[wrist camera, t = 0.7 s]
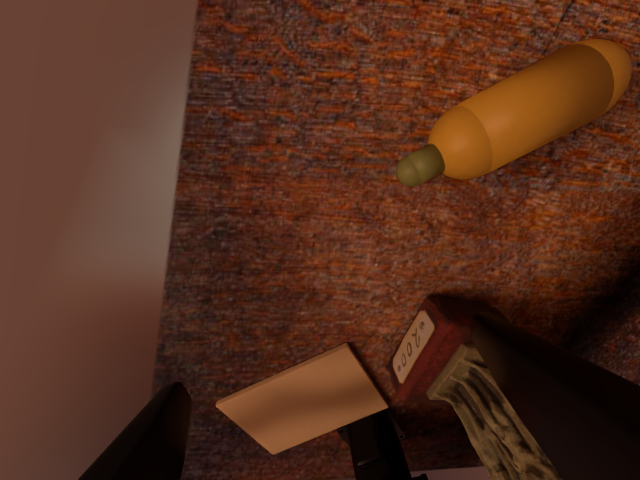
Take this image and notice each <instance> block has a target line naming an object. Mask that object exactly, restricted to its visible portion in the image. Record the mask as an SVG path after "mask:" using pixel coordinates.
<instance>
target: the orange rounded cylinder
mask: <svg viewBox="0 0 640 480" xmlns="http://www.w3.org/2000/svg"><path fill="white" fill-rule="evenodd" d="M631 74H632V62H631V59H630V56H629V55H628V53H627V51H626V50H625V49H624V48H623V47H621V46H620V45H618V44H617V43H615V42H612V41H609V40H604V39H587V40H582V41H578V42H575V43H572V44H570V45H567V46H565V47H563V48H561V49H559V50H557V51H555V52H554V53H552V54H550V55H548V56H546V57H544V58H543V59H541V60H539V61H537V62H535V63H533V64H531V65H530V66H528V67H526V68H524V69H522V70H520V71H518V72H517V73H515V74H513V75H511V76H509V77H507V78H506V79H504V80H502V81H500V82H498V83H496V84H494V85H493V86H491V87H489V88H487V89H485V90H483V91H481V92H480V93H478V94H476V95H474V96H472V97H470V98H469V99H467V100H465V101H463V102H461V103H459V104H457V105H456V106H454V107H452V108H451V109H449V110H448V111H446V112H445V113H444V114H443V115H442V116H441V117H440V118H439V119H438V120H437V122H436V123H435V125H434V126H433V128H432V130H431V133H430V135H429V140H428V145H426V146H424V147H422V148H420V149H418V150H417V151H415V152H413V153H411V154H409V155H407V156H405V157H404V158H402V159H401V160H400V162H399V163H398V165H397V168H396V175H397V178H398V180H399V181H400V182H401V183H402V184H404V185H406V186H417V185H420V184H421V183H423V182H425V181H427V180H429V179H431V178H433V177H435V176H437V175H439V174H441V173H442V174H444V175H446V176H448V177H450V178H454V179H459V180H466V179H473V178H477V177H480V176H483V175H485V174H487V173H489V172H491V171H493V170H495V169H497V168H499V167H501V166H503V165H505V164H507V163H509V162H511V161H513V160H515V159H517V158H519V157H521V156H523V155H525V154H527V153H529V152H531V151H533V150H535V149H537V148H539V147H541V146H543V145H545V144H547V143H549V142H551V141H553V140H555V139H557V138H559V137H561V136H563V135H565V134H567V133H569V132H571V131H573V130H575V129H577V128H579V127H581V126H583V125H585V124H587V123H589V122H591V121H593V120H595V119H597V118H598V117H600V116H602V115H603V114H604V113H606V112H607V111H608V110H610V109H611V108H612V107H613V106H614V105H615V104H616V103H617V102H618V101H619V99H620V98H621V97H622V95H623V94H624V93H625V91H626V89H627V87H628V85H629V82H630V79H631Z"/></svg>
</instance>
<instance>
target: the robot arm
mask: <svg viewBox="0 0 640 480" xmlns="http://www.w3.org/2000/svg"><path fill="white" fill-rule="evenodd" d="M470 334H471V338H472V341H473V343H474V345H475V346H476V348H477V350H478V352H479V353H480V355H481V357H482V359H483V361H484V362H485V364H486V366H487V368H488V369H489V371H490V373H491V375H492V376H493V378H494V380H495V382H496V383H497V385H498V387H499V389H500V390H501V392H502V393H503V395H504V396H505V398H506V399H507V401H508V402H509V404H510V405H511V406H512V408H513V409H514V411H515V412H516V414H517V415H518V416H519V418H520V419H521V421H522V422H523V424H524V425H525V426H526V428H527V429H528V431H529V432H530V434H531V435H532V436H533V438H534V439H535V441H536V442H537V444H538V445H539V446H540V448H541V449H542V451H543V452H544V454H545V455H546V456H547V458H548V459H549V461H550V462H551V464H552V465H553V466H554V468H555V469H556V471H557V472H558V474H559V475H560V477H561V478H562V479H563V480H640V386H639V385H637V384H635V383H633V382H631V381H629V380H627V379H625V378H623V377H621V376H618V375H616V374H614V373H612V372H610V371H608V370H606V369H604V368H602V367H600V366H598V365H596V364H594V363H592V362H590V361H588V360H586V359H584V358H582V357H580V356H578V355H575V354H573V353H571V352H569V351H567V350H565V349H563V348H561V347H559V346H557V345H555V344H553V343H551V342H549V341H547V340H545V339H543V338H541V337H539V336H537V335H535V334H532V333H530V332H528V331H526V330H524V329H522V328H520V327H518V326H516V325H514V324H512V323H510V322H508V321H506V320H504V319H502V318H500V317H498V316H496V315H494V314H491V313H489V312H486V311H483V312H479V313H474V314H473V315H472V316H471V331H470ZM191 411H192V399H191V396H190V395H189V393H188V392H187V390H186V389H185V387H184V386H183V384H182V383H181V382H173V383H169V384H166V385H165V386H163V387H162V388H161V389H160V391H159V392H158V393H157V394H156V395H155V396H154V397H153V398H152V399H151V400H150V401H149V403H148V404H147V405H146V406H145V407H144V408H143V409H142V410H141V412H139V414H138V415H137V416H136V417H135V418H134V419H133V420H132V421H131V422H130V423H129V424H128V425H127V427H126V428H125V429H124V430H123V431H122V432H121V433H120V434H119V435H118V436H117V437H116V439H115V440H114V441H113V442H112V443H111V444H110V445H109V446H108V447H107V448H106V449H105V451H104V452H103V453H102V454H101V455H100V456H99V457H98V458H97V459H96V460H95V461H94V462H93V464H92V465H91V466H90V467H89V468H88V469H87V470H86V471H85V472H84V473H83V474H82V476H81V477H80V478H79V479H78V480H180V478H181V474H182V469H183V464H184V459H185V453H186V446H187V439H188V432H189V425H190V418H191ZM337 432H338V434H339V435H340V436H341V437H342V438H343V439H344V441H345V442H346V443H347V444H348V445H349V446H350V450H351V456H352V461H353V467H354V473H355V479H356V480H428V478H427V476H426V474H421V476H418V477H414V478H412V477H411V474H410V471H409V468H408V465H407V462H406V459H405V456H404V453H403V450H402V446H401V443H400V440H401V439H403V438H405V434H404V431H403V430H402V428H401V427H400V425H399V424H398V423H397V421H396V420H395V418H394V417H393V415H392V414H391V412H390V411H389V409H388V408H386V409H383V410H381V411H379V412H376V413H374V414H371V415H369V416H366V417H364V418H361V419H359V420H357V421H354V422H352V423H349V424H347V425H344V426H342V427H340V428H337Z"/></svg>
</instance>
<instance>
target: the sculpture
mask: <svg viewBox="0 0 640 480" xmlns="http://www.w3.org/2000/svg"><path fill="white" fill-rule="evenodd" d="M483 311H486V312H489V313H491V314H494V315H496V316H498V317H500V318H502V319H504V320H506V321H508V322H509V320H508V319H507V318H506V317H505V316H504V314H502V313H501V312H500V311H499V310H497V309H496V308H495V307H490V306H485V305H480V304H477V303H474V302H471V301H462V300H456V299H451V298H446V297H440V298H438V297H426V298H425V300H424V302H423V304H422V305H421V307H420V309H419V311H418V313H417V314H416V316H415V318H414V320H413V322H412V323H411V325H410V326H409V328H408V329H407V331H406V333H405V335H404V337H403V339H402V341H401V342H400V344H399V345H398V347H397V348H396V350H395V352H394V354H393V355H392V357H391V359H390V361H389V363H388V364H387V365H386V368H387V370H388V372H389V373H390V376H391V381H392V384H393V386H394V388H395V391H396V393H397V395H398V397H399V398H400V399H401V400H403V401H405V402H423V403H438V404H445V405H453V407H454V410H455V411H456V413H457V414H458V416H459V418H460V419H461V421H462V423H463V425H464V427H465V429H466V432H467V434H468V437H469V439H470V442H471V444H472V445H473V447H474V448H475V450H476V452H477V453H478V455H479V457H480V459H481V460H482V462H483V464H484V465H485V468H486V470H487V472H488V475H489V476H490V477H489V478H490V479H491V480H563V479H562V478H561V477H560V475H559V474H558V472H557V471H556V469H555V468H554V466H553V465H552V464H551V462H550V461H549V459H548V458H547V456H546V455H545V454H544V452H543V451H542V449H541V448H540V446H539V445H538V444H537V442H536V441H535V439H534V438H533V436H532V435H531V434H530V432H529V431H528V429H527V428H526V426H525V425H524V424H523V422H522V421H521V419H520V418H519V416H518V415H517V414H516V412H515V411H514V409H513V408H512V406H511V405H510V404H509V402H508V401H507V399H506V398H505V396H504V395H503V393H502V392H501V390H500V389H499V387H498V385H497V383H496V382H495V380H494V378H493V376H492V375H491V373H490V371H489V369H488V368H487V366H486V364H485V362H484V361H483V359H482V357H481V355H480V353H479V352H478V350H477V348H476V346H475V345H474V343H473V341H472V338H471V334H470V331H471V316H472V315H473V314H474V313H479V312H483Z"/></svg>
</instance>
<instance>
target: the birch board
mask: <svg viewBox="0 0 640 480" xmlns="http://www.w3.org/2000/svg"><path fill="white" fill-rule="evenodd" d="M216 407H217V408H218V409H220V410H221V411H222V412H223V413H224V414H226V415H227V416H228V417H229V418H230V419H231V420H233V421H234V422H235V423H236V424H237V425H238V426H240V427H241V428H242V429H243V430H244V431H245V432H247V433H248V434H249V435H250V436H251V437H253V438H254V439H255V440H256V441H257V442H258V443H260V444H261V445H262V446H263V447H264V448H265V449H267V450H268V451H269V452H270V453H271V454H272V455H274V454H276V453H279V452H281V451H283V450H286V449H288V448H291V447H293V446H296V445H298V444H301V443H303V442H305V441H308V440H310V439H313V438H315V437H318V436H320V435H322V434H325V433H327V432H330V431H332V430H335V429H337V428H340V427H342V426H344V425H347V424H349V423H352V422H354V421H357V420H359V419H361V418H364V417H366V416H369V415H371V414H374V413H376V412H379V411H381V410H383V409H386V408H388V404H387V402H386V400H385V399H384V397H383V396H382V394H381V393H380V391H379V390H378V388H377V387H376V385H375V384H374V382H373V381H372V379H371V378H370V376H369V375H368V373H367V372H366V370H365V369H364V367H363V366H362V364H361V363H360V361H359V360H358V358H357V357H356V355H355V354H354V352H353V351H352V349H351V348H350V346H349V345H348V343H347V342H346V343H344V344H342V345H340V346H337V347H335V348H333V349H331V350H328V351H326V352H324V353H322V354H320V355H317V356H315V357H313V358H311V359H309V360H306V361H304V362H302V363H300V364H297V365H295V366H293V367H291V368H289V369H286V370H284V371H282V372H280V373H278V374H275V375H273V376H271V377H269V378H266V379H264V380H262V381H260V382H258V383H255V384H253V385H251V386H249V387H247V388H244V389H242V390H240V391H238V392H235V393H233V394H231V395H229V396H227V397H224V398H222V399H220V400H218V401H217V403H216Z"/></svg>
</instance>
